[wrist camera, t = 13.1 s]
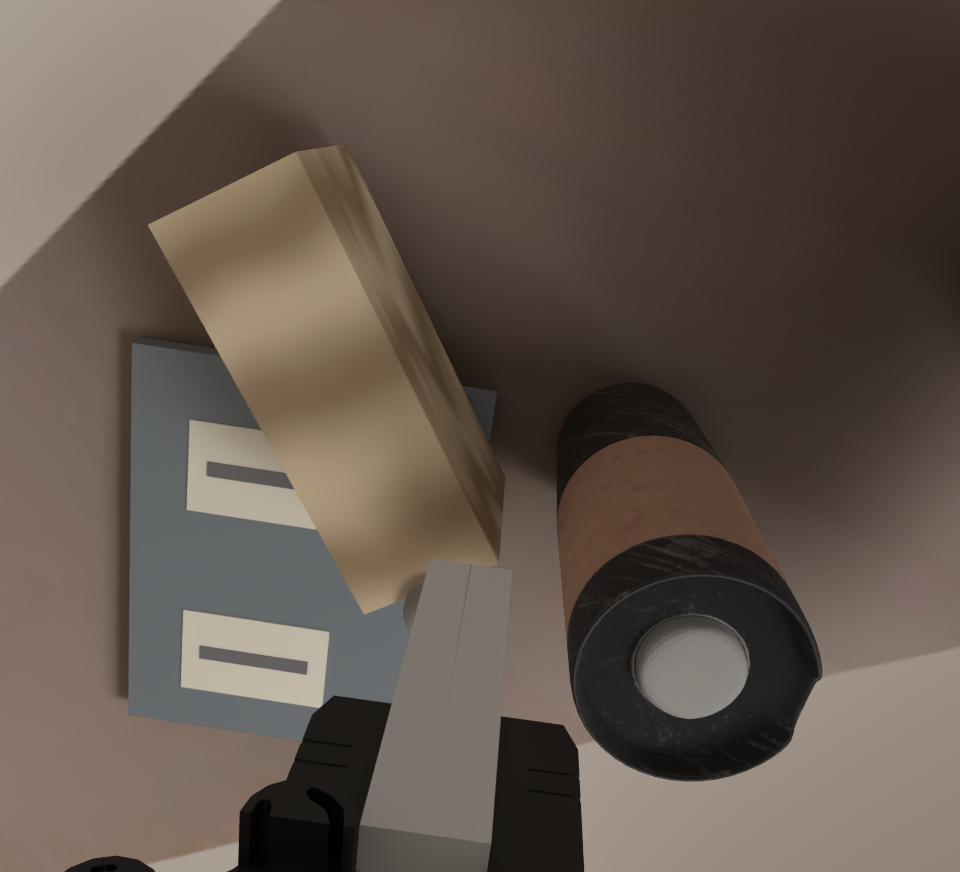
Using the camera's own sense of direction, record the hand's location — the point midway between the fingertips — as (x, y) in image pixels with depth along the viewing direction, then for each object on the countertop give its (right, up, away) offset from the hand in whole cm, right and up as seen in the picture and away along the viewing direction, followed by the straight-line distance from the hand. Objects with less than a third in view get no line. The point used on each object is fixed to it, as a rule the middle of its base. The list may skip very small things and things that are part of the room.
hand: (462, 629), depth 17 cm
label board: (-9, -3, +32) cm, 34 cm away
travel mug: (+8, +3, +29) cm, 30 cm away
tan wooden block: (-4, +7, +26) cm, 27 cm away
